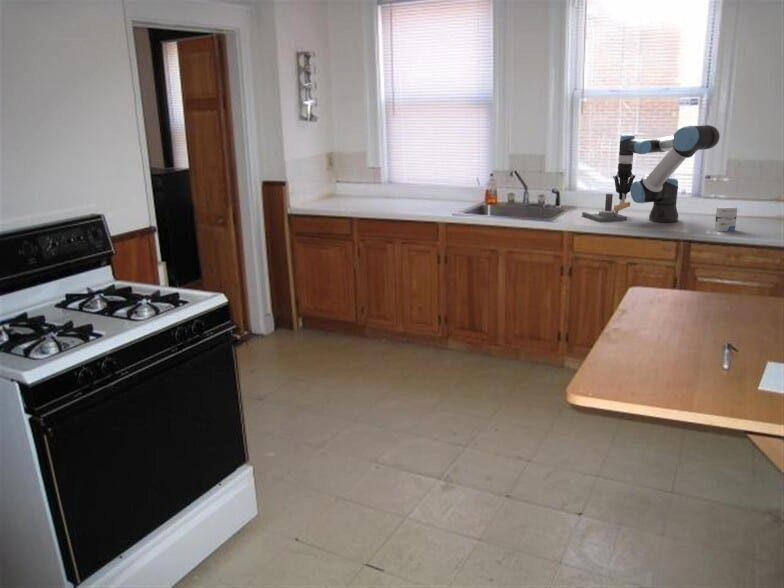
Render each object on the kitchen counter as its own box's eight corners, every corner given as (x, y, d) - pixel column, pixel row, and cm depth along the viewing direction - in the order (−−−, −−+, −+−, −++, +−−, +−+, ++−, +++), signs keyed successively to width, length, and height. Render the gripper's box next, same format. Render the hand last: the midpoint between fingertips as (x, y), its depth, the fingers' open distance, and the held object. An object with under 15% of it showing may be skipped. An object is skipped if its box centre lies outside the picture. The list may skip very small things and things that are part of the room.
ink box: (730, 229, 362) (733, 206, 359) (735, 231, 358) (738, 207, 354) (713, 229, 362) (716, 206, 359) (718, 231, 357) (721, 208, 354)
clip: (618, 211, 387) (618, 206, 386) (613, 210, 389) (613, 205, 388) (630, 206, 400) (631, 202, 399) (625, 206, 402) (626, 201, 401)
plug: (615, 216, 391) (617, 194, 387) (605, 216, 390) (607, 195, 386) (609, 214, 396) (611, 193, 393) (600, 215, 395) (601, 193, 392)
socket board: (626, 220, 390) (627, 211, 388) (600, 222, 386) (600, 212, 385) (607, 214, 408) (607, 205, 407) (582, 215, 405) (582, 207, 403)
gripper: (631, 161, 397) (628, 203, 404) (611, 162, 394) (608, 204, 401) (639, 163, 390) (635, 205, 397) (618, 164, 387) (615, 206, 394)
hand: (621, 205), depth 399 cm, fingers closed
